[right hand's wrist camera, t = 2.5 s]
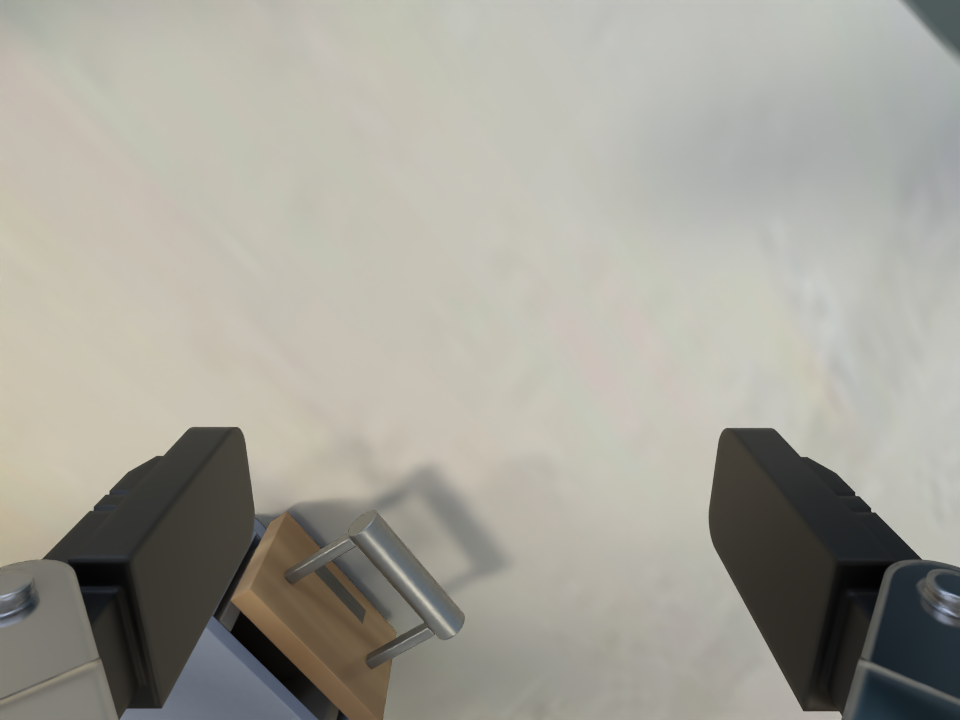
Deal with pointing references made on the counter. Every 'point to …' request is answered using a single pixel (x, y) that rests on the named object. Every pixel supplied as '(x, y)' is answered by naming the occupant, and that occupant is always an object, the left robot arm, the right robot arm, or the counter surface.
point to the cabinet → (226, 681)
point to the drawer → (330, 615)
